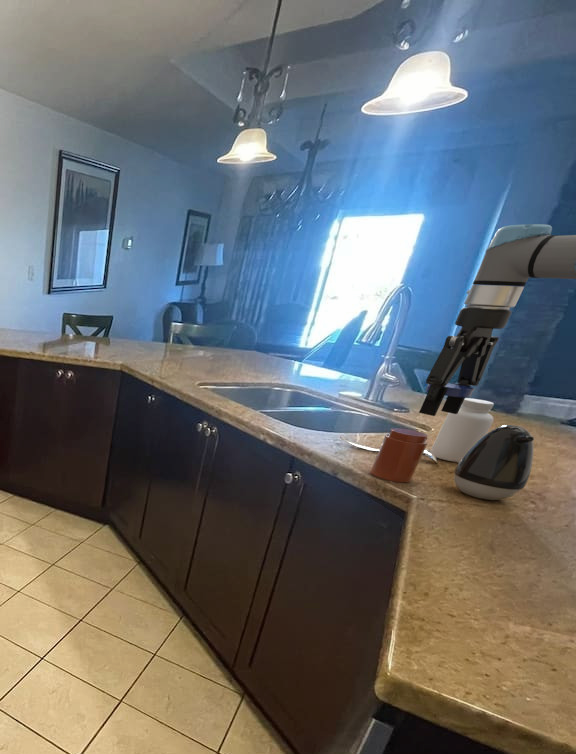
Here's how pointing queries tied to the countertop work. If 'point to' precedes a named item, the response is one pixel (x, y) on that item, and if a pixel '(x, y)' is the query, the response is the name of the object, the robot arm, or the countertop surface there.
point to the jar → (399, 455)
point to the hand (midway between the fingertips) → (438, 413)
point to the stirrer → (425, 453)
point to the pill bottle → (463, 430)
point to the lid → (456, 390)
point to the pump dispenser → (496, 464)
